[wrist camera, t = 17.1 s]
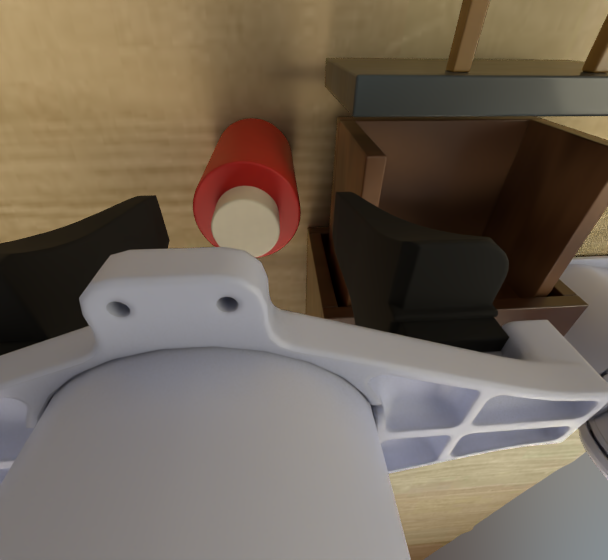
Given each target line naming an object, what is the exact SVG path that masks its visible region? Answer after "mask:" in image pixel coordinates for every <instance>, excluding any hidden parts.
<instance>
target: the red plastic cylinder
mask: <svg viewBox="0 0 608 560" xmlns="http://www.w3.org/2000/svg"><path fill="white" fill-rule="evenodd" d="M193 212H194V217H195V221H196V223H197V225H198V228H199V229H200V231H201V232H202V234H203V235H204V237H205V238H206V239H207V240H208V241H209V242H210V243H211V244H212V245H214V246H215V247H228V248H233V249H238V250H244V251H246V252H248V253H249V254H250V255H252V256H253V257H255V258H258V257H263V256H267V255H270V254H272V253H275V252H277V251H278V250H280V249H281V248H283V247H284V246H285V245H286V244H287V243H288V242H289V241H290V240H291V239H292V237H293V236H294V234H295V233H296V231H297V228H298V226H299V222H300V214H301V212H300V203H299V196H298V190H297V184H296V178H295V172H294V166H293V160H292V154H291V149H290V146H289V143H288V141H287V139H286V138H285V136H284V135H283V134H282V132H281V131H280V130H279V129H278V128H277V127H275V126H274V125H272V124H271V123H269V122H267V121H264V120H261V119H254V118H249V119H242V120H239V121H237V122H235V123H233V124H231V125H230V126H229V127H228V128H227V129H226V130H225V131H224V132H223V134H222V135H221V137H220V139H219V141H218V143H217V145H216V147H215V150H214V152H213V154H212V156H211V158H210V160H209V163H208V165H207V167H206V169H205V171H204V173H203V175H202V178H201V180H200V182H199V184H198V186H197V188H196V191H195V194H194V199H193Z"/></svg>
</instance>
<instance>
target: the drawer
mask: <svg viewBox="0 0 608 560" xmlns="http://www.w3.org/2000/svg"><path fill="white" fill-rule="evenodd" d="M489 3H490V0H463V3H462V7H461V11H460V15H459V19H458V23H457V27H456V31H455V35H454V39H453V43H452V47H451V51H450V55H449V59H404V58H326V66H325V87H326V88H327V89H328V90H329V91H330V92H331V93H332V94H333V96H334V97H335V98H336V99H337V100H338V101H339V102H340V103H341V104H342V105H343V106H344V107H345V109H346V110H347V111H348V112H349V113H350V114H351V115H352V116H353V117H338V118H337V128H336V142H335V156H334V170H333V183H332V197H331V211H330V225H329V239H328V253H327V259H328V263H329V267H330V271H331V275H332V279H333V284H334V288H335V292H336V296H337V300H338V304H339V307H347V306H352V304H351V299H350V295H349V292H348V289H347V286H346V283H345V280H344V277H343V274H342V271H341V268H340V266H339V263H338V260H337V257H336V253H335V248H334V243H333V236H332V233H333V220H334V207H335V195H336V192H353V193H355V194H357V195H358V196H360V197H362V198H363V199H365V200H367V201H368V202H370V203H371V204H373V205H375V206H376V207H378V208H380V209H382V210H384V211H386V212H388V213H390V214H391V215H394V216H396V217H398V218H400V219H403V220H406V221H408V222H411V223H414V224H417V225H420V226H424V227H427V228H431V229H435V230H439V231H444V232H450V233H456V234H462V235H473V236H483V237H490V238H491V239H492V240H493V241H494V242H495V243H496V244H497V245H498V246H499V247H500V248H501V249H502V250H503V251H504V252H505V253H506V255H507V258H508V260H509V268H508V272H507V275H506V278H505V280H504V282H503V284H502V286H501V288H500V290H499V291H498V293H497V295H496V297H495V299H511V298H532V297H547V296H548V295H549V293H550V292H551V290H552V289H553V287H554V286H555V284H556V283H557V281H558V280H559V278H560V277H561V275H562V274H563V272H564V271H565V269H566V268H567V266H568V265H569V263H570V262H571V260H572V259H573V257H574V256H575V254H576V253H577V251H578V250H579V248H580V247H581V245H582V244H583V242H584V241H585V239H586V238H587V237H588V235H589V234H590V232H591V231H592V229H593V228H594V226H595V225H596V223H597V222H598V220H599V219H600V217H601V216H602V214H603V213H604V211H605V210H606V208H607V207H608V140H605V139H602V138H599V137H596V136H593V135H590V134H587V133H584V132H581V131H578V130H575V129H572V128H569V127H566V126H563V125H560V124H557V123H554V122H551V121H548V120H545V119H542V118H539V117H536V116H608V15H607V17H606V19H605V21H604V23H603V25H602V28H601V30H600V32H599V34H598V36H597V38H596V40H595V42H594V44H593V47H592V49H591V51H590V53H589V55H588V57H587V59H586V61H585V62H581V61H572V60H513V59H473V58H474V55H475V52H476V48H477V45H478V41H479V38H480V34H481V31H482V27H483V24H484V20H485V17H486V13H487V10H488V6H489Z"/></svg>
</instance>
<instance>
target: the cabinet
mask: <svg viewBox="0 0 608 560" xmlns="http://www.w3.org/2000/svg"><path fill="white" fill-rule="evenodd" d="M328 239H329V227H319V228H308V234H307V279H306V315H310V316H315V317H319V318H324V319H329V320H333V321H338V322H343V323H347V324H352V325H356V324H355V319H354V314H353V309H352V306H347V307H339V304H338V300H337V296H336V292H335V288H334V284H333V279H332V275H331V271H330V267H329V263H328V259H327V253H328ZM492 304H493V305H494V307H495V308H496V309H497V310H498V316H497V317H494V318H495V319H496V320H497V322H498V323H499V324H500V326H501V327H502V326H503V325H505V324H506V323H508V322H513V321H527V320H548V321H549V322H550V323H551V324H552V325H553V326H554V327H555V328H556V329H557V330H558V331H559V333H560V334H561V335H562V336H563V337H564V336H565V335H566V333H567V332H568V331H569V330H570V328H571V327H572V326H573V325H574V323H575V322H576V321H577V320H578V318H579V317H580V316H581V315H582V313H583V312H584V311H585V310H586V308H587V307H588V306H589V305H588V304H587V303H586V302H585V301H584V300H583V299H581V298H580V297H579V296H577V294H576V293H575V292H573V291H572V290H571V289H570V288H569V287H568V286H567V285H565V284H564V283H563V282H562V281H561V280H560V279H559V280H558V281H557V283H556V284H555V286H554V287H553V289H552V290H551V292H550V293H549V295H548V296H547V297H532V298H511V299H494V301H493V303H492Z"/></svg>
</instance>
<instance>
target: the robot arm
mask: <svg viewBox="0 0 608 560" xmlns="http://www.w3.org/2000/svg"><path fill="white" fill-rule="evenodd" d="M332 236H333V243H334V248H335V253H336V257H337V260H338V263H339V266H340V268H341V271H342V274H343V277H344V280H345V283H346V286H347V289H348V292H349V295H350V299H351V304H352V309H353V314H354V319H355V324H356V325H352V324H347V323H343V322H338V321H333V320H329V319H324V318H319V317H315V316H310V315H305V314H301V313H296V312H291V311H287V310H282V309H279V308H277V307H276V306H274V305H273V303H272V302H271V299H270V295H269V286H268V277H267V274H266V272H265V270H264V267H263V265H262V263H261V262H260V261H259V260H257V259H256V258H255V257H253V256H252V255H250V254H249V253H248V252H246V251H244V250H238V249H233V248H228V247H202V248H170V249H168V244H169V237H168V234H167V230H166V227H165V224H164V220H163V217H162V214H161V210H160V207H159V204H158V200H157V197H156V196H137V197H134V198H131V199H128V200H126V201H124V202H121V203H119V204H117V205H115V206H113V207H110V208H108V209H106V210H104V211H102V212H99V213H97V214H95V215H92V216H90V217H88V218H85V219H83V220H81V221H78V222H76V223H73V224H70V225H68V226H65V227H62V228H59V229H56V230H53V231H49V232H46V233H43V234H39V235H35V236H31V237H27V238H23V239H19V240H15V241H10V242H5V243H0V560H411V559H410V555H409V551H408V547H407V543H406V540H405V536H404V532H403V528H402V524H401V520H400V516H399V513H398V509H397V505H396V501H395V497H394V493H393V490H392V486H391V482H390V478H389V473H394V472H399V471H403V470H408V469H412V468H417V467H422V466H426V465H431V464H436V463H440V462H445V461H450V460H454V459H459V458H464V457H468V456H473V455H478V454H483V453H488V452H494V451H499V450H505V449H511V448H518V447H525V446H533V445H543V444H552V443H561V442H563V441H564V440H565V439H566V438H567V437H568V436H570V435H571V434H572V433H573V432H574V431H575V430H577V429H579V436H580V439H581V442H582V444H583V446H584V448H585V450H586V452H587V453H588V455H589V456H590V458H591V459H592V460H593V462H594V463H595V465H596V466H597V467H598V468H599V470H600V471H601V472H602V473H603V474H604V476H605V477H606V478H607V479H608V256H591V257H573V259H572V260H571V262H570V263H569V265H568V266H567V268H566V269H565V271H564V272H563V274H562V275H561V277H560V278H559V279H560V280H561V281H562V282H563V283H564V284H565V285H567V286H568V287H569V288H570V289H571V290H572V291H573V292H575V293H576V294H577V296H579V297H580V298H581V299H583V300H584V301H585V302H586V303H587V304H588V305H589V306H588V307H587V308H586V310H585V311H584V312H583V313H582V315H581V316H580V317H579V318H578V320H577V321H576V322H575V323H574V325H573V326H572V327H571V328H570V330H569V331H568V332H567V333H566V335H565V336H564V337H563V336H562V335H561V334H560V333H559V331H558V330H557V329H556V328H555V327H554V326H553V325H552V324H551V323H550V322H549V321H548V320H527V321H513V322H508V323H506V324H505V325H503V326H502V327H501V326H500V324H499V323H498V322H497V320H496V319H495V318H494V317H497V316H498V310H497V309H496V308H495V307H494V305H493V304H492V303H493V301H494V299H495V297H496V295H497V293H498V291H499V290H500V288H501V286H502V284H503V282H504V280H505V278H506V275H507V272H508V268H509V260H508V258H507V255H506V253H505V252H504V251H503V250H502V249H501V248H500V247H499V246H498V245H497V244H496V243H495V242H494V241H493V240H492V239H491V238H490V237H483V236H473V235H462V234H456V233H450V232H444V231H439V230H435V229H431V228H427V227H424V226H420V225H417V224H414V223H411V222H408V221H406V220H403V219H400V218H398V217H396V216H394V215H391V214H390V213H388V212H386V211H384V210H382V209H380V208H378V207H376V206H375V205H373V204H371V203H370V202H368V201H367V200H365V199H363V198H362V197H360V196H358V195H357V194H355V193H353V192H336V195H335V207H334V220H333V233H332Z"/></svg>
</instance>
